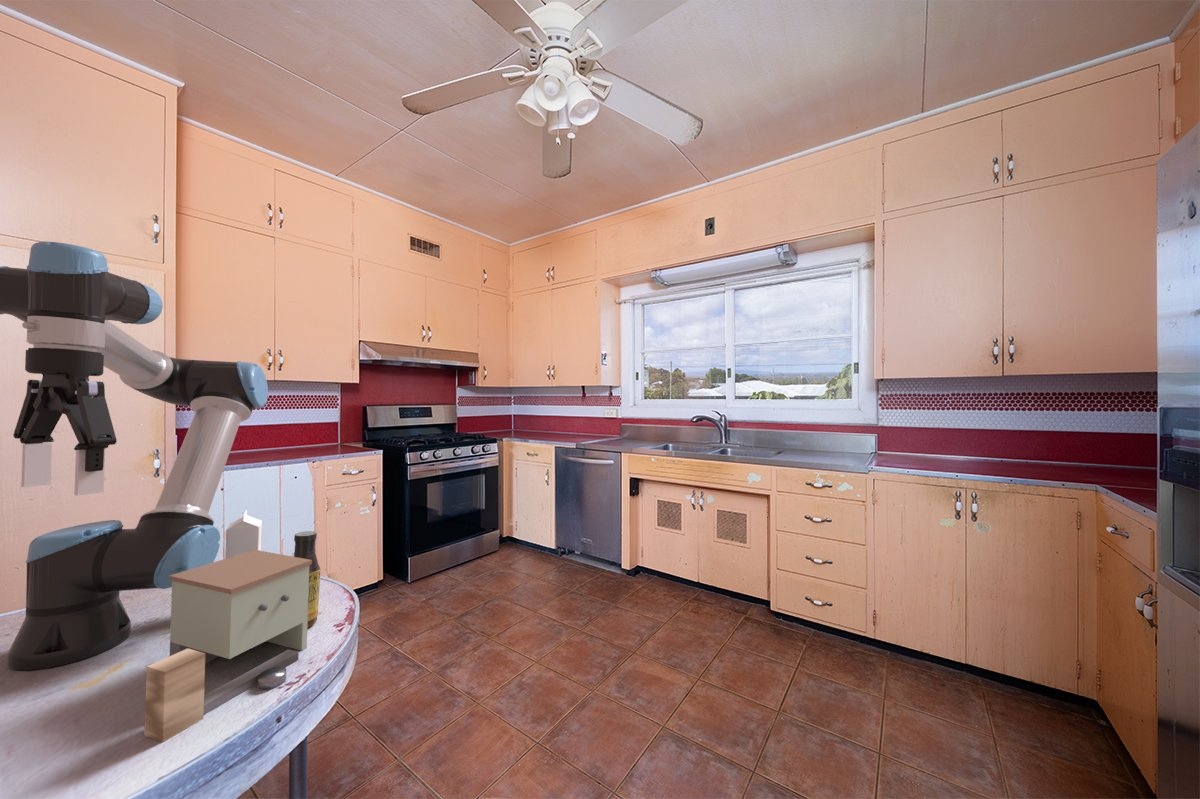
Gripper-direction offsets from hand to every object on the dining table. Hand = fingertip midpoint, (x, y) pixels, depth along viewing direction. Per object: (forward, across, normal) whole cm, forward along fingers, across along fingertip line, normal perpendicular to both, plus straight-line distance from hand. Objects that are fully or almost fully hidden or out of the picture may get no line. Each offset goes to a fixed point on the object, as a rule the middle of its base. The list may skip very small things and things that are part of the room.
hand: (61, 489), depth 66 cm
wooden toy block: (+35, +18, +13) cm, 41 cm away
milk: (+35, -13, +35) cm, 51 cm away
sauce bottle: (+35, +8, +33) cm, 49 cm away
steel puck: (+35, +21, +17) cm, 44 cm away
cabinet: (+35, +10, +20) cm, 41 cm away
